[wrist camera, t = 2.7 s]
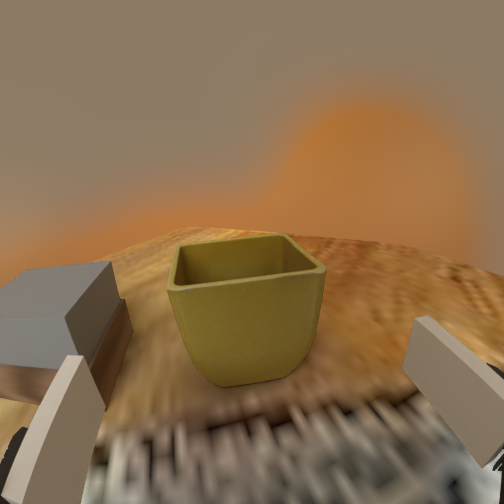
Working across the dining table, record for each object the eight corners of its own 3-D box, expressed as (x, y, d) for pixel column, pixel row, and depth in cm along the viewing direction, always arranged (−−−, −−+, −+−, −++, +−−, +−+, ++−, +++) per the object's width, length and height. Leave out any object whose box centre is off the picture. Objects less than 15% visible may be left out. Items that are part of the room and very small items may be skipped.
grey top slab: (120, 301, 25) (111, 260, 24) (85, 370, 16) (64, 316, 15) (37, 306, 24) (26, 269, 23) (-12, 361, 15) (-33, 316, 13)
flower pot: (190, 339, 26) (175, 242, 23) (286, 326, 27) (284, 230, 24) (193, 411, 17) (164, 289, 14) (320, 389, 19) (330, 269, 16)
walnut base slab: (134, 334, 27) (124, 298, 26) (108, 416, 17) (87, 374, 15) (46, 336, 26) (34, 303, 25) (2, 401, 15) (-20, 364, 14)
